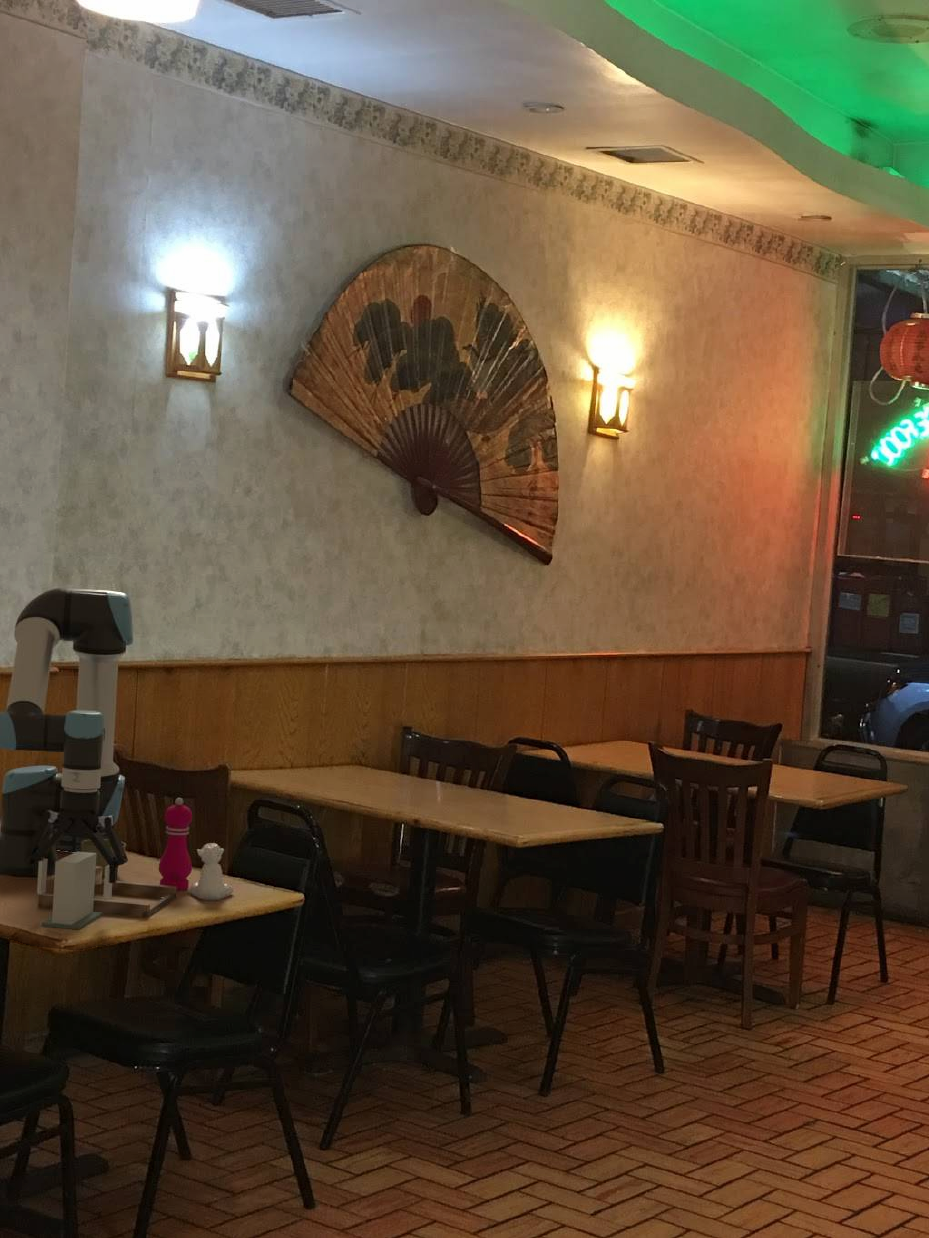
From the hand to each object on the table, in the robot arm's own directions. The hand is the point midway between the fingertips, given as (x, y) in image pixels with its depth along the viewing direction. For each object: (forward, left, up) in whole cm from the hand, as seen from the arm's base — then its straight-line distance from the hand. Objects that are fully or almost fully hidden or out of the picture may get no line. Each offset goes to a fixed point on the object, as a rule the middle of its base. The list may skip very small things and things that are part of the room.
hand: (74, 895), depth 328 cm
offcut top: (-5, +19, -1) cm, 19 cm away
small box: (-23, +69, -5) cm, 73 cm away
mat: (0, 0, -5) cm, 5 cm away
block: (0, 0, -4) cm, 4 cm away
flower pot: (-10, +46, -5) cm, 47 cm away
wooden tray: (+1, +19, -5) cm, 19 cm away
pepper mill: (+9, +39, -5) cm, 40 cm away
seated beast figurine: (+19, +33, -5) cm, 38 cm away
